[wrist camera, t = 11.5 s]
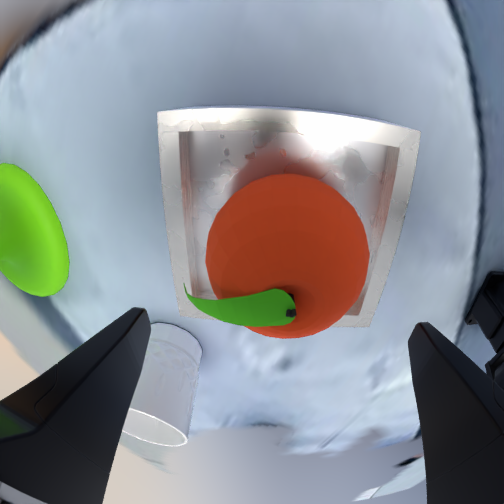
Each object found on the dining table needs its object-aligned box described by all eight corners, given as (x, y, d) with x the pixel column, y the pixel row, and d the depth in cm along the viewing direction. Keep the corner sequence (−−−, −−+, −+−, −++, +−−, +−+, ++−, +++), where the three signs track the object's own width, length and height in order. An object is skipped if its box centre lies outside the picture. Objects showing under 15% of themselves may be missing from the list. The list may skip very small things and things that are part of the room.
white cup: (122, 332, 27) (85, 407, 19) (168, 306, 24) (128, 399, 16) (173, 373, 30) (151, 447, 22) (224, 355, 27) (207, 444, 19)
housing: (381, 119, 15) (420, 131, 10) (352, 277, 21) (369, 327, 17) (191, 106, 16) (157, 111, 11) (199, 267, 22) (180, 316, 17)
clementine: (222, 285, 18) (198, 380, 11) (186, 178, 14) (122, 246, 8) (353, 265, 16) (384, 361, 10) (341, 147, 13) (397, 196, 7)
